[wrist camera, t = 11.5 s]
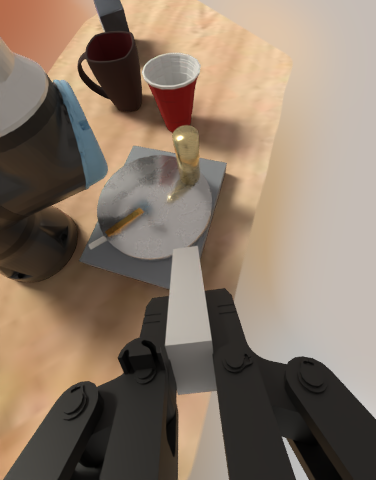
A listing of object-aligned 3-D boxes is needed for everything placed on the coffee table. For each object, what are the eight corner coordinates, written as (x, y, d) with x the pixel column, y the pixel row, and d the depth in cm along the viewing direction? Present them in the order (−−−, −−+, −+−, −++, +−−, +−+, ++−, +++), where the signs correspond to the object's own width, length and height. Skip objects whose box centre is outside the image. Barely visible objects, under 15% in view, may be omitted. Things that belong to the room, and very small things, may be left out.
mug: (146, 117, 50) (130, 61, 39) (92, 119, 51) (61, 64, 40) (151, 88, 53) (137, 29, 42) (100, 90, 55) (73, 33, 43)
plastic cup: (207, 110, 49) (207, 50, 38) (194, 145, 46) (190, 90, 35) (164, 103, 51) (153, 44, 40) (149, 136, 48) (132, 82, 37)
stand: (189, 295, 35) (188, 294, 32) (88, 264, 39) (77, 260, 36) (225, 172, 43) (226, 161, 40) (137, 155, 46) (133, 144, 43)
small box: (108, 44, 61) (90, -7, 51) (129, 38, 62) (115, -15, 52) (115, 65, 58) (97, 15, 48) (138, 59, 58) (124, 7, 48)
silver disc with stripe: (109, 274, 34) (66, 257, 24) (98, 178, 41) (61, 130, 30) (225, 244, 35) (235, 213, 24) (195, 153, 41) (192, 97, 31)
